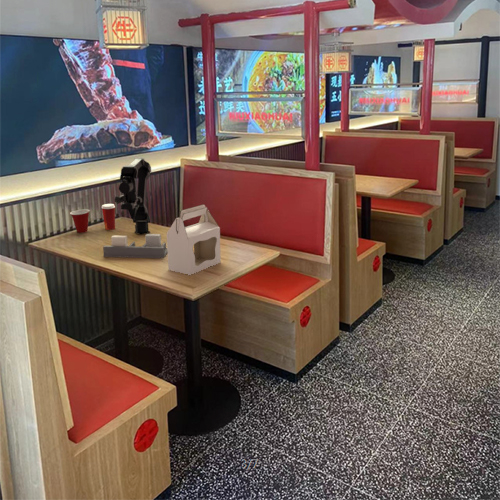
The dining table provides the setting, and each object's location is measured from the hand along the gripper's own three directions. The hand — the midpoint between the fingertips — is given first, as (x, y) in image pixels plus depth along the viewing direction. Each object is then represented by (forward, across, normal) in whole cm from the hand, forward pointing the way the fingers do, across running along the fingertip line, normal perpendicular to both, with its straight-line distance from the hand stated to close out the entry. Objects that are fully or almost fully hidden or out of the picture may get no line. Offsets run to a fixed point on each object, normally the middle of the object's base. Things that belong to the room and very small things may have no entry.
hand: (132, 218), depth 290 cm
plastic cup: (+12, -16, -35) cm, 41 cm away
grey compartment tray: (+12, +22, +8) cm, 26 cm away
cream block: (+11, +24, 0) cm, 26 cm away
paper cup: (+12, -23, -21) cm, 33 cm away
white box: (+11, +20, +16) cm, 28 cm away
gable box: (+12, +39, +40) cm, 57 cm away
